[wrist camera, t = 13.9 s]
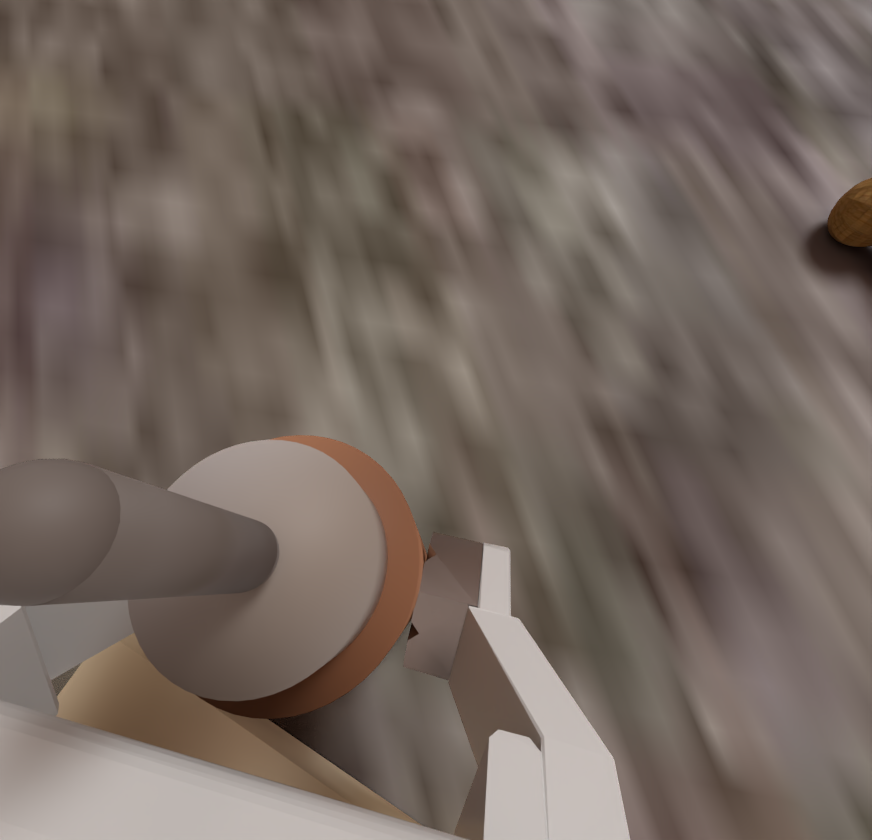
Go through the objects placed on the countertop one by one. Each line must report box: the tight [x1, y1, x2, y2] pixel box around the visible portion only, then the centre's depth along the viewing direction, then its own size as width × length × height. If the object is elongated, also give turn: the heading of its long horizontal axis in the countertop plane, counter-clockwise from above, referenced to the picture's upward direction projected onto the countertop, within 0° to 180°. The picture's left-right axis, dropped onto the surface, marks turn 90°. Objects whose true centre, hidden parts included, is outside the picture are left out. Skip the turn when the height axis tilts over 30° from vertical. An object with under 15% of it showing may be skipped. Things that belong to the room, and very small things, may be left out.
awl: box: [0, 435, 427, 719], centre depth 8 cm, size 3×3×13 cm
